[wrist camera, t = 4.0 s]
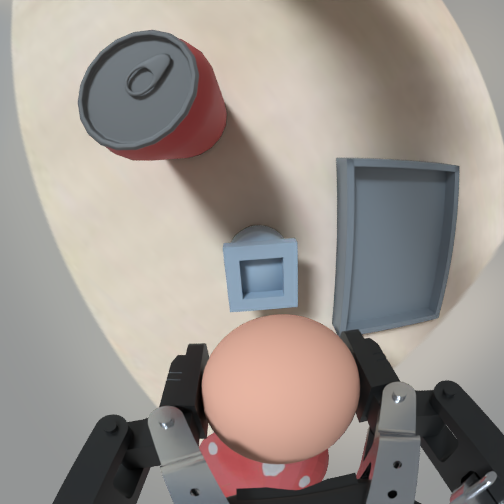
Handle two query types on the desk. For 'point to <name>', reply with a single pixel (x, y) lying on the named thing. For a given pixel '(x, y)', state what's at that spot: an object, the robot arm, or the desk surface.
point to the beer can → (152, 98)
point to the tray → (392, 241)
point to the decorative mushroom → (259, 469)
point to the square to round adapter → (261, 270)
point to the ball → (280, 389)
